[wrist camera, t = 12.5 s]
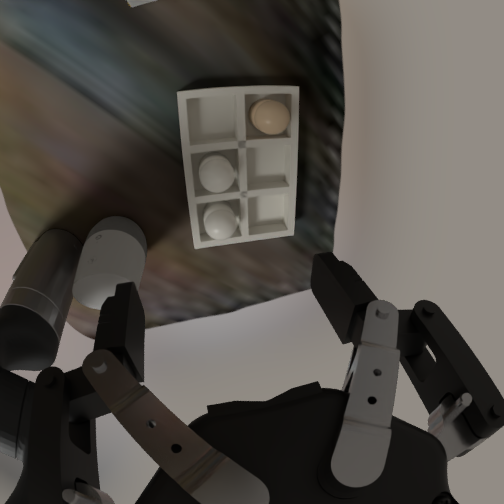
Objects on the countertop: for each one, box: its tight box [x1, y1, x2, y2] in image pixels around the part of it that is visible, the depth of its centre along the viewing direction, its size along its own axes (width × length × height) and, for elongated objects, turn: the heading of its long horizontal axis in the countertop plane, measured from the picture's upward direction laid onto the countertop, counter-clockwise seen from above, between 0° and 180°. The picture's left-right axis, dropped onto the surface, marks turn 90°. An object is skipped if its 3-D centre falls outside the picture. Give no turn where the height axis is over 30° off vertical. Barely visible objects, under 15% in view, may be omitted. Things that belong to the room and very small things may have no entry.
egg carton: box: [177, 85, 299, 249], centre depth 39 cm, size 15×22×3 cm
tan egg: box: [248, 98, 290, 135], centre depth 34 cm, size 4×4×6 cm
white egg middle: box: [198, 152, 235, 193], centre depth 36 cm, size 4×4×6 cm
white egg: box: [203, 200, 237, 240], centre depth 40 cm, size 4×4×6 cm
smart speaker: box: [72, 216, 147, 310], centre depth 36 cm, size 10×9×14 cm
